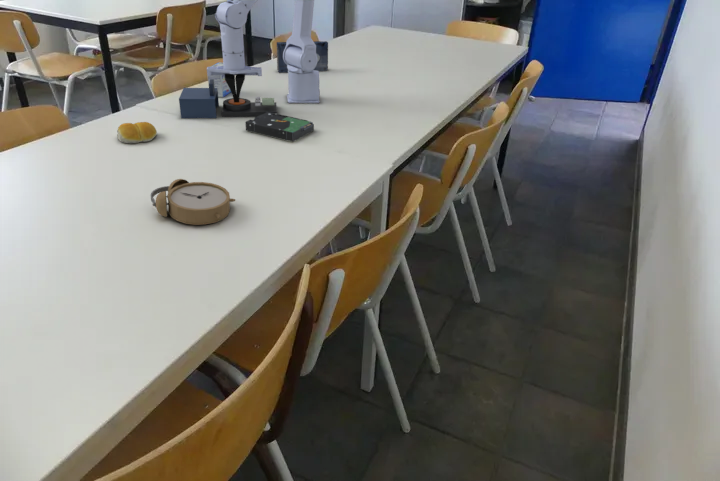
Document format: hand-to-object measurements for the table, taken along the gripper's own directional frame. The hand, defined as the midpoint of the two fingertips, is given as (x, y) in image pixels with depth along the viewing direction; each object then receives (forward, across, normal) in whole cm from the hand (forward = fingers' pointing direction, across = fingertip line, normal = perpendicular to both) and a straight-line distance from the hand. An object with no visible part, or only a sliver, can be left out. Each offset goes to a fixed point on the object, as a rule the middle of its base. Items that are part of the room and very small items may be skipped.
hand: (236, 101), depth 153 cm
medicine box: (+3, -6, +18) cm, 19 cm away
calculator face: (0, +8, 0) cm, 8 cm away
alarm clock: (+3, -6, -59) cm, 59 cm away
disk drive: (+3, +12, -16) cm, 20 cm away
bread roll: (+3, -24, -20) cm, 31 cm away
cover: (+3, -10, 0) cm, 11 cm away
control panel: (+3, +4, 0) cm, 5 cm away
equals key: (+1, 0, 0) cm, 1 cm away
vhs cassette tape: (+3, +22, +47) cm, 52 cm away
